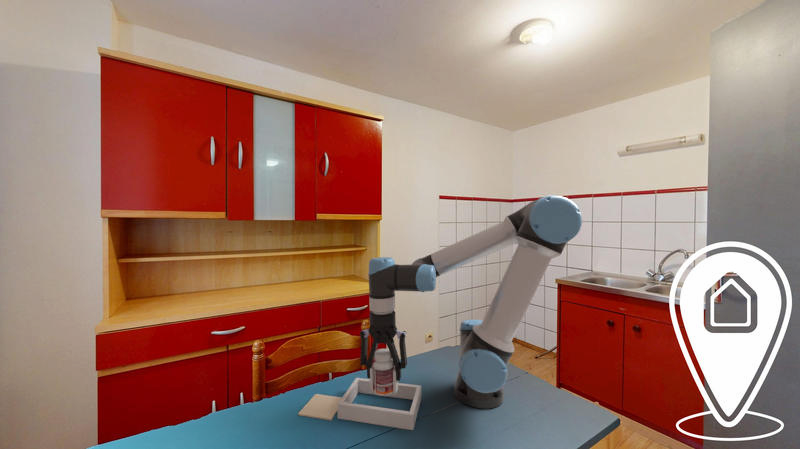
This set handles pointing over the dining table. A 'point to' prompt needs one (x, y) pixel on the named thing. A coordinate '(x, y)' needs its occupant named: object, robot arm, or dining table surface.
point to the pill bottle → (383, 372)
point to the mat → (321, 407)
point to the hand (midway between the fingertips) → (384, 389)
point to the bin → (380, 414)
